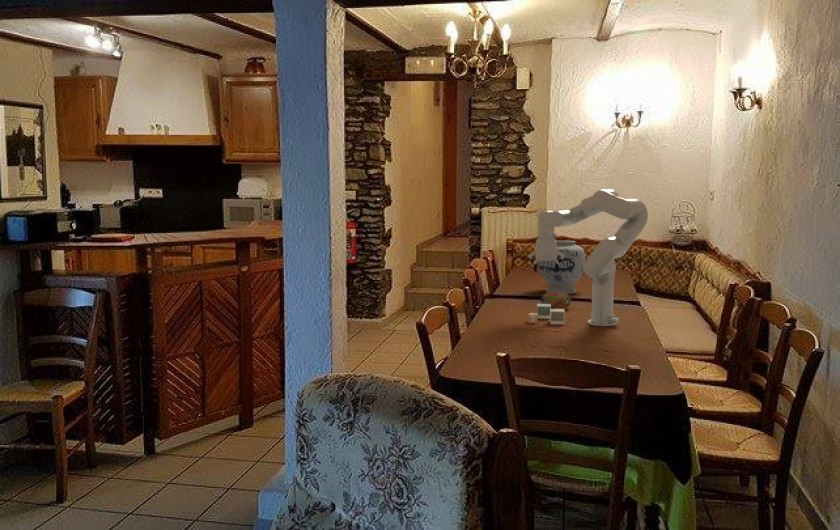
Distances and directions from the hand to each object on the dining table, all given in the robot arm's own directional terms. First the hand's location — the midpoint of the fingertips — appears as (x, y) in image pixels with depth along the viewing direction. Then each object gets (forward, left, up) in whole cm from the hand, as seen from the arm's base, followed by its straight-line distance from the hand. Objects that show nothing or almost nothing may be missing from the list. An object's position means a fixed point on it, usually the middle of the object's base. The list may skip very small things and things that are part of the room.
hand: (546, 272), depth 353 cm
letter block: (-5, +15, -22) cm, 27 cm away
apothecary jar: (+45, -65, -22) cm, 82 cm away
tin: (+11, -21, -22) cm, 32 cm away
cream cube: (-14, +8, -22) cm, 27 cm away
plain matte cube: (-1, +2, -22) cm, 22 cm away
